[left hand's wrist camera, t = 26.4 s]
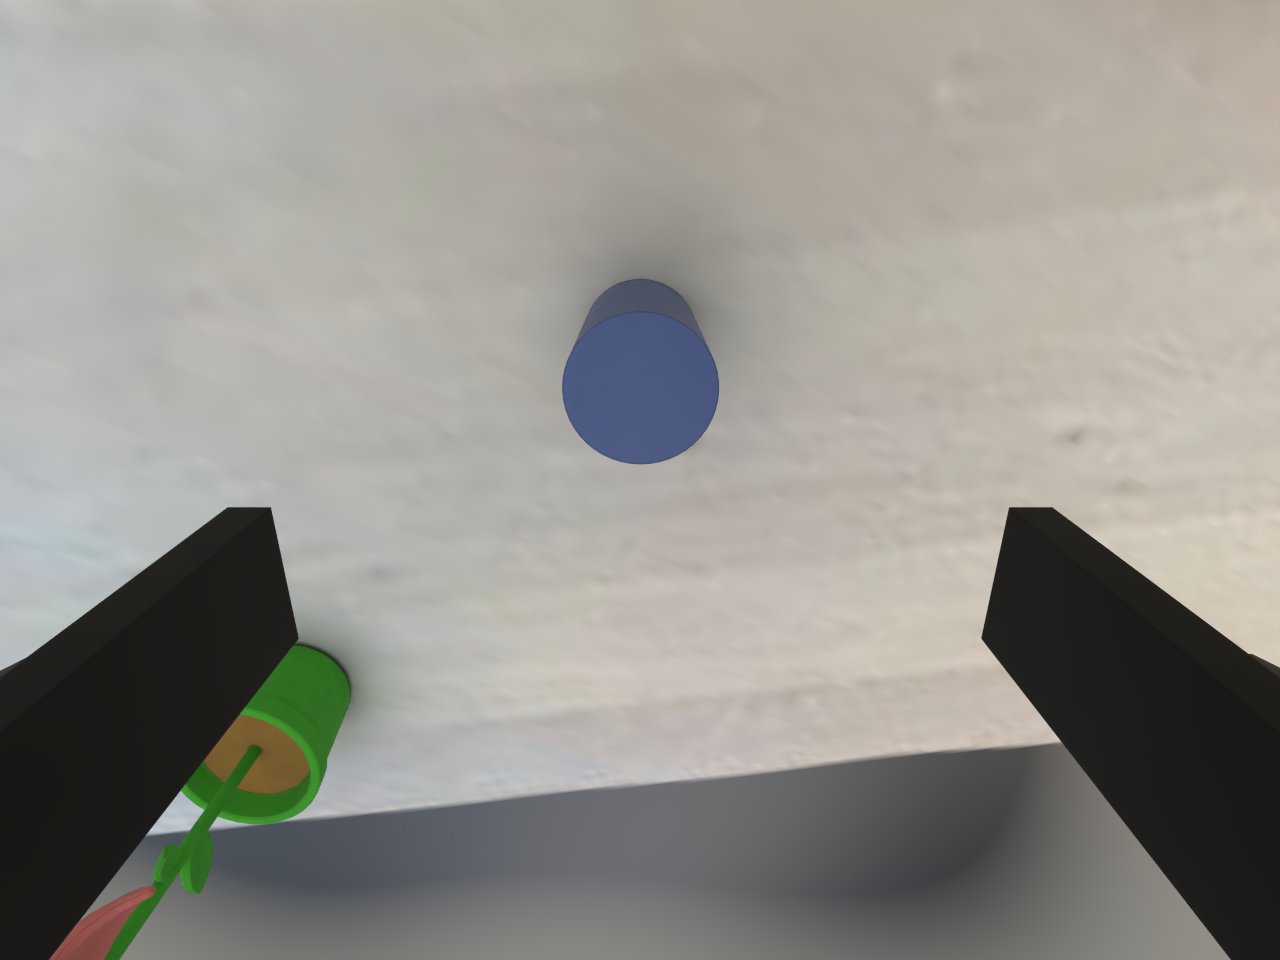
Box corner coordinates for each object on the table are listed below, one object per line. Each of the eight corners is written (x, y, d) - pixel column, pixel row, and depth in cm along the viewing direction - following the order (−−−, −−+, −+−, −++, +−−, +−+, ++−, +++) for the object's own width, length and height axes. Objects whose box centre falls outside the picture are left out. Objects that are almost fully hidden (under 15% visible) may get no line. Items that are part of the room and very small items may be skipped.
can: (691, 272, 34) (712, 301, 24) (702, 385, 36) (725, 455, 26) (575, 286, 34) (549, 322, 24) (592, 398, 36) (575, 472, 26)
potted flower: (370, 747, 44) (68, 1361, 21) (243, 739, 44) (-207, 1351, 21) (360, 619, 41) (-16, 1183, 17) (222, 609, 40) (-347, 1169, 17)
